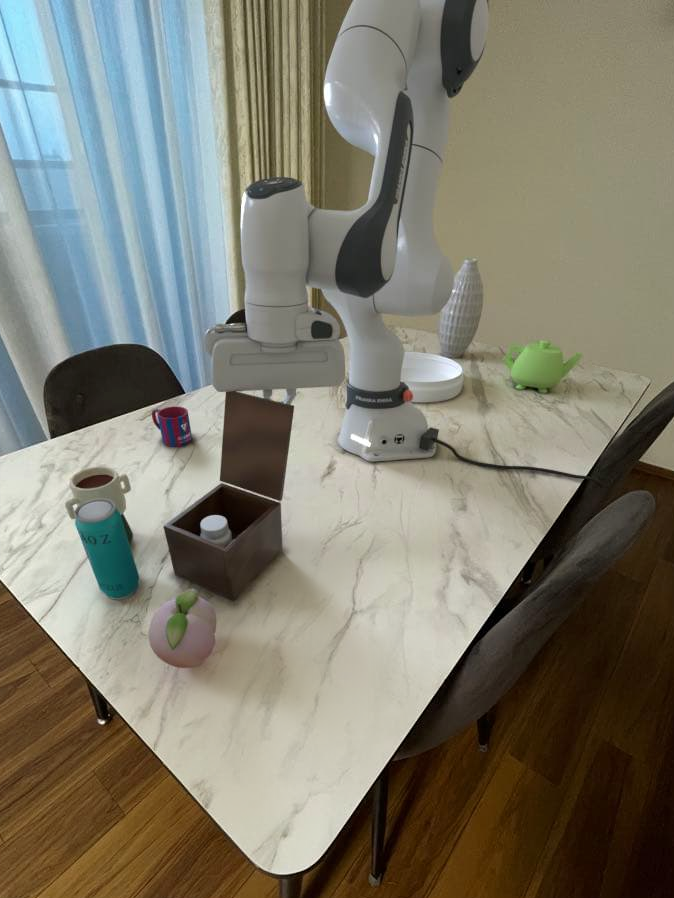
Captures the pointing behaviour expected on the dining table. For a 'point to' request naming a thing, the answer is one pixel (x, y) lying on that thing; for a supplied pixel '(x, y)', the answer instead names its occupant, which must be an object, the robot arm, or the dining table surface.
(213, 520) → the pill bottle
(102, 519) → the beverage can
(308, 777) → the dining table surface
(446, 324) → the vase
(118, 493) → the character mug
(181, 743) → the dining table surface
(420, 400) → the white round dish
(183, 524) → the box
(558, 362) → the teapot
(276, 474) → the lid
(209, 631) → the decorative fruit
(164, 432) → the cup
